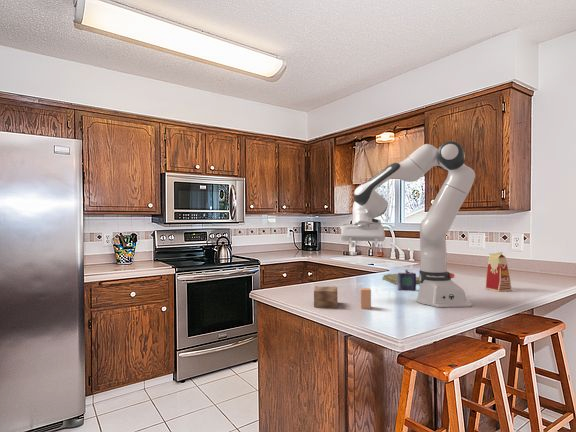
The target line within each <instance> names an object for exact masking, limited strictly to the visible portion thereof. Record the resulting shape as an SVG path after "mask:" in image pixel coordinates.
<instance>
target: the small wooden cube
mask: <svg viewBox="0 0 576 432" xmlns="http://www.w3.org/2000/svg"><path fill="white" fill-rule="evenodd" d="M313 307H314V308H326V309H327V308H328V309H331V308H332V309H337V308H338V287H337V286H319V285H318V286H314V289H313Z"/></svg>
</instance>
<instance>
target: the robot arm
mask: <svg viewBox="0 0 576 432" xmlns="http://www.w3.org/2000/svg"><path fill="white" fill-rule="evenodd" d="M465 158H466V156H465V151H464V148H463V146H462V145H461V144H460V143H459V142H456V141H453V140H451V141H450V140H449V141H446V142H444V143H442V144H441V145H440V146H439V147H438V148H436V147H435V146H434V145H432V144H430V143H425V144H423V145H421V146H419V147H417V149H415V150H414V151H413V152H412V153H410V154H409V155H408V156H407V157H406V158H405V159H404V160H402V161H400V162H393V163H391V164H389V165H387V166H386V167H384V169H382V170H381V171H379V172H378V173H376V174H375V175H374V176H372V177H371V178H370V179H369V180H367V181H366V182H365V181H364V182H363V183H362V184H360V185H357V187H356V188H355V189H354V191H353V200H354V202H353V205H352V217H353V218H352V223H351V224H350V223H349V224H347V223H345V224H342V225H341V226H340V233H341V234H340V235H341V236H340V238H341V240H342V241H343V242H348V243H349V244H350V247H351V248H355V244H356V243H355V242H372V243H371V248H376V247H377V244H378V242H384V241H385V239H386V234H385V233H386V232H385V229H384V226H383V225H382V221H381V219H378V218H379V217H381V216H382V215H384V214H385V213H386V211H387V209H388V206H389V203H388V201H387V199H386V198H385V197H383V195H381V194H379V193H378V192H377V191H376V190H377V189H378V188H379V187H380V186H382V185H384V184H385V183H387V181H390V180H393V179H395V180H400V181H403V182H407V183H413V182H417V181H418V180H420V179H421V178H422V177H424V175H426V173H428V172H429V171H430V170H431V169H432V168H434V167H437V168H439V169H442V170H443V171H446V172H447V176H446V178H445V179H444V182H443V183H442V185H441V187H440V189H439V191H438V193H437V194H436V196H435V199H434V200H433V202H432V204H431V206H430V208H429V210H428V211H427V213H426V215H425V217H424V219H422V220H421V222H420V225H419V243H420V245H419V248H420V249H419V250H420V257H419V259H420V260H419V261H420V263H419V264H420V270H419V273H418V277H419V281H420V284H419V287H418V288H419V289H418V293H417V294H418V295H417V298H416V302H418V303H419V304H422V305H429V306H432V307H437V308H460V307H461V308H463V307H465V308H466V307H472V306H473V304H472V302H471V301H470V300H469V299H467V297H466V292H465V290H464V289H463V288H462V287H461V286H460V285H458V284H457V283H456V282H454V281H453V280H452V279H454V278H455V274H454V273H452V272H449V271H448V270H447V268H448V267H447V265H448V264H447V263H448V261H447V258H448V256H447V255H448V254H447V243H446V241H447V239H446V236H447V235H448V232H449V230H450V229H451V226H452V225H453V223H454V220H455V219H456V216H457V214H458V212H459V210H460V208H461V207H462V205H463V204H464V202H465V200H466V198H467V196H468V195H469V193H470V190H471V188H472V186H473V184H474V181H475V179H476V172H475V170H474V169H473V168H472V167H469V166H468V165H466V164H465V161H466V160H465Z"/></svg>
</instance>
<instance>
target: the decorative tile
mask: <svg viewBox="0 0 576 432" xmlns="http://www.w3.org/2000/svg"><path fill="white" fill-rule="evenodd" d="M382 280H383V281H387V282H389V284H390V283H391V284H393V285H395V286H398V273H393V274H391V273H389V274H384V275H383V276H382ZM416 285H420V281H419V276H416Z"/></svg>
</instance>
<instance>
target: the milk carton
mask: <svg viewBox="0 0 576 432" xmlns="http://www.w3.org/2000/svg"><path fill="white" fill-rule="evenodd" d="M488 255H489V257H488V261H487V268H486V276H485V277H486V279H485V290H489V291H494V292H498V293H500V292H508V291H509V292H511V291H512V290H513V289H512V281H511V278H510V277H511V276H510V272H509V266H508V263H507V262H508V261H507V259H506V256H505V255H504V254H503V252H502V251H500V252H495V253H488Z"/></svg>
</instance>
